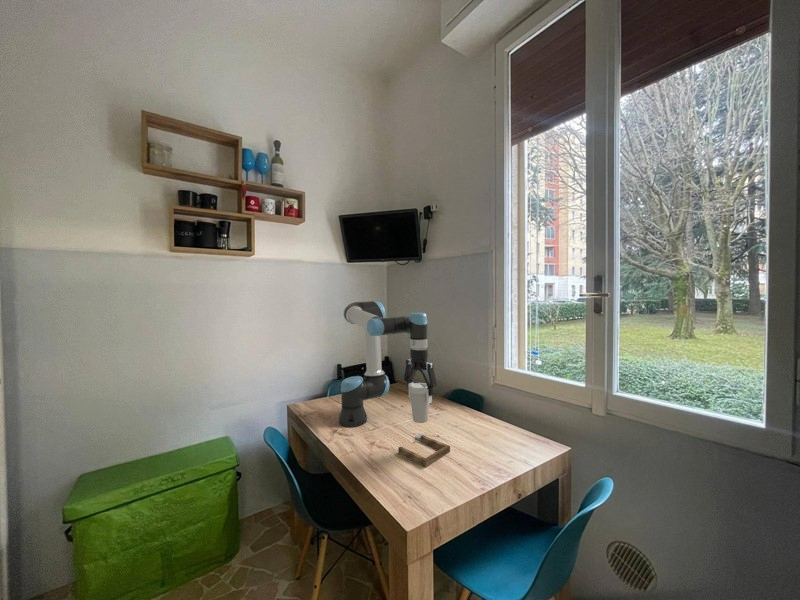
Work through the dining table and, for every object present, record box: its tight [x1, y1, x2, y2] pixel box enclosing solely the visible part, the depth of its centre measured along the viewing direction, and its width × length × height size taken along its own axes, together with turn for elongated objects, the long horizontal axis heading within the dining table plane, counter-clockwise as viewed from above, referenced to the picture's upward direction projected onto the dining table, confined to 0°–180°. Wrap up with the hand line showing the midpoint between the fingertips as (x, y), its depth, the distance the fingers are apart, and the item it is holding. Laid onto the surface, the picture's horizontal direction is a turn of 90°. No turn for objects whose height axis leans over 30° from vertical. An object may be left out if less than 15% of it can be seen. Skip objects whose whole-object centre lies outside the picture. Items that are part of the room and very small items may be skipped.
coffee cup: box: [408, 382, 430, 424], centre depth 132 cm, size 10×10×15 cm
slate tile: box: [414, 433, 427, 441], centre depth 144 cm, size 4×4×1 cm
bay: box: [397, 434, 451, 468], centre depth 131 cm, size 16×16×2 cm
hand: (420, 400), depth 132 cm, fingers closed on coffee cup, 9 cm apart
